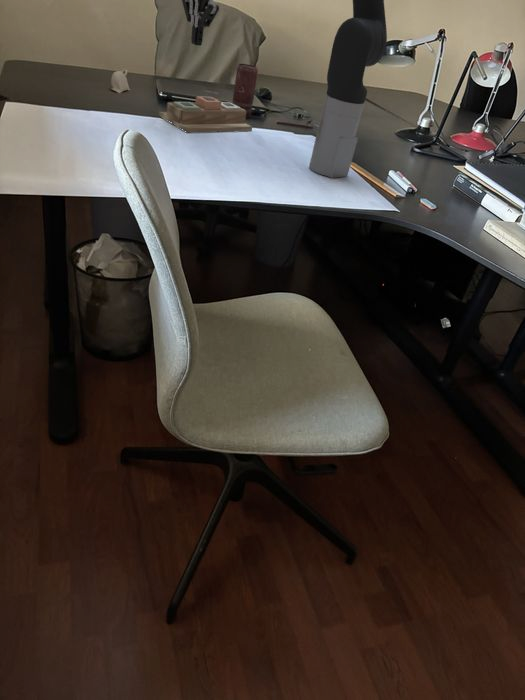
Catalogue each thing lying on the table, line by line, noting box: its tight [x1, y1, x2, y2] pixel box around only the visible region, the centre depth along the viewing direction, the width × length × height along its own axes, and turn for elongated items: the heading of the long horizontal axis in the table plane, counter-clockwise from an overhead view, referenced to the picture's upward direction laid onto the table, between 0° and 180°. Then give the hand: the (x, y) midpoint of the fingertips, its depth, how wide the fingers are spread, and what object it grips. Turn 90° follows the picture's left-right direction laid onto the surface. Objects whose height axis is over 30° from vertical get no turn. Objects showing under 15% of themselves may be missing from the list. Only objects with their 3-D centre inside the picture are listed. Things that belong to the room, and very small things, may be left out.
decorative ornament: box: [110, 68, 131, 94], centre depth 157 cm, size 4×8×5 cm, turn 162°
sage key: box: [173, 101, 200, 110], centre depth 139 cm, size 5×5×3 cm
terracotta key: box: [195, 95, 223, 110], centre depth 143 cm, size 5×5×3 cm
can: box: [231, 63, 259, 120], centre depth 156 cm, size 6×6×14 cm
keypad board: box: [158, 101, 253, 133], centre depth 145 cm, size 14×22×4 cm, turn 130°
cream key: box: [221, 101, 241, 110], centre depth 148 cm, size 5×5×3 cm
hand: (196, 44), depth 131 cm, fingers closed
